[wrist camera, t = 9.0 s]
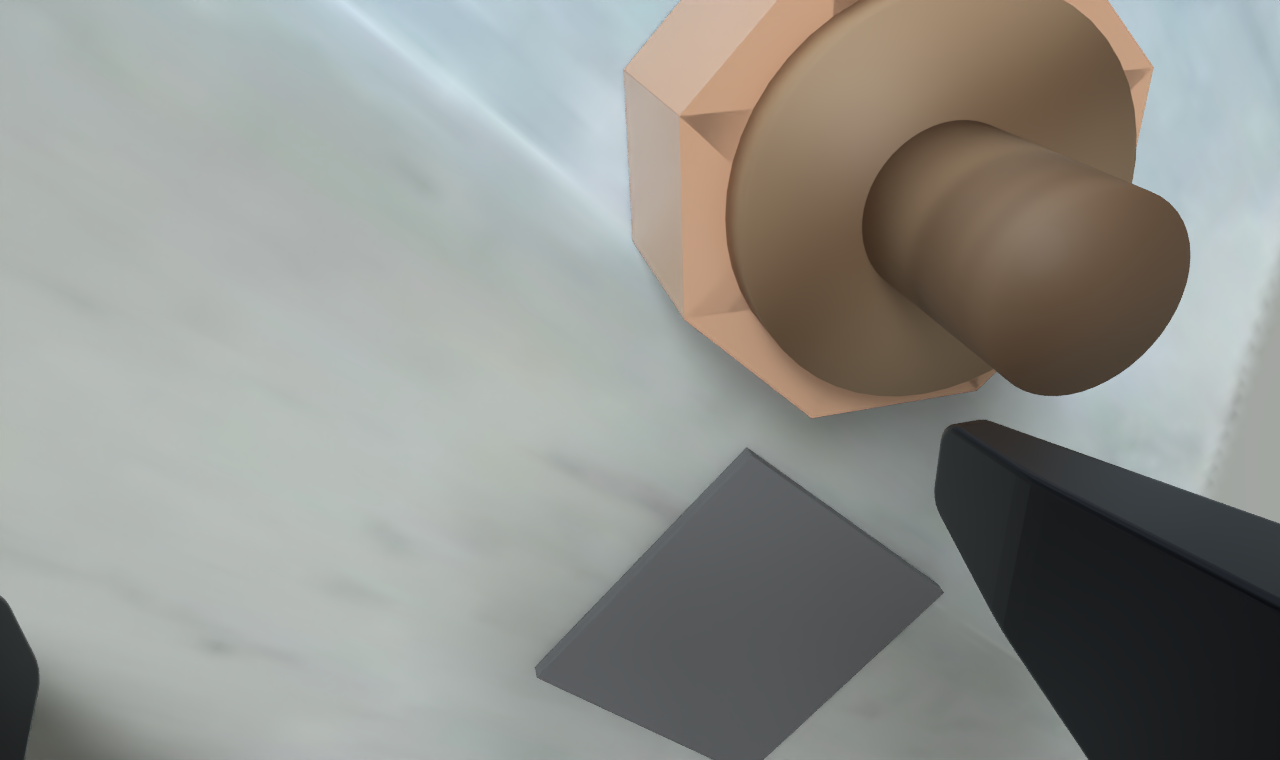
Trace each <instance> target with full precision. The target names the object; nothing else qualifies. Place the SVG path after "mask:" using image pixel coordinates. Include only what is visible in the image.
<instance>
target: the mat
mask: <svg viewBox="0 0 1280 760" xmlns="http://www.w3.org/2000/svg"><path fill="white" fill-rule="evenodd" d="M943 593H944V592H943V591H942V589H941V588H940V587H939V586H938V584H937V583H935V582H934V581H932V580H931V579H930V578H928V577H927V576H925V575H924V574H923V573H921V572H920V571H918V570H917V569H916V568H914V567H913V566H911V565H910V564H909V563H907V562H906V561H904V560H903V559H902V558H900V557H899V556H897V555H896V554H895V553H893V552H892V551H891V550H889V549H888V548H886V547H885V546H884V545H882V544H881V543H879V542H878V541H877V540H875V539H874V538H872V537H871V536H870V535H868V534H867V533H865V532H864V531H863V530H861V529H860V528H858V527H857V526H856V525H854V524H853V523H851V522H850V521H849V520H847V519H846V518H844V517H843V516H842V515H840V514H839V513H837V512H836V511H835V510H833V509H832V508H830V507H829V506H828V505H826V504H825V503H823V502H822V501H821V500H819V499H818V498H816V497H815V496H814V495H812V494H811V493H810V492H808V491H807V490H805V489H804V488H803V487H801V486H800V485H798V484H797V483H796V482H794V481H793V480H791V479H790V478H789V477H787V476H786V475H784V474H783V473H782V472H780V471H779V470H777V469H776V468H775V467H773V466H772V465H770V464H769V463H768V462H766V461H765V460H763V459H762V458H761V457H759V456H758V455H756V454H755V453H754V452H752V451H751V450H749V449H748V448H746V449H745V450H744V451H743V452H742V453H741V454H740V455H739V456H738V457H737V458H736V459H735V460H734V461H733V462H732V463H731V464H730V466H729V467H728V468H727V469H726V470H725V471H724V472H723V473H722V474H721V475H720V476H719V477H718V478H717V479H716V480H715V481H714V482H713V483H712V484H711V485H710V486H709V487H708V488H707V489H706V490H705V491H704V493H703V494H702V495H701V496H700V497H699V498H698V499H697V500H696V501H695V502H694V503H693V504H692V505H691V506H690V507H689V508H688V509H687V510H686V511H685V512H684V513H683V514H682V515H681V516H680V517H679V518H678V520H677V521H676V522H675V523H674V524H673V525H672V526H671V527H670V528H669V529H668V530H667V531H666V532H665V533H664V534H663V535H662V536H661V537H660V538H659V539H658V540H657V541H656V542H655V543H654V544H653V545H652V547H651V548H650V549H649V550H648V551H647V552H646V553H645V554H644V555H643V556H642V557H641V558H640V559H639V560H638V561H637V562H636V563H635V564H634V565H633V566H632V567H631V568H630V569H629V570H628V571H627V573H626V574H625V575H624V576H623V577H622V578H621V579H620V580H619V581H618V582H617V583H616V584H615V585H614V586H613V587H612V588H611V589H610V590H609V591H608V592H607V593H606V594H605V595H604V596H603V597H602V598H601V600H600V601H599V602H598V603H597V604H596V605H595V606H594V607H593V608H592V609H591V610H590V611H589V612H588V613H587V614H586V615H585V616H584V617H583V618H582V619H581V620H580V621H579V622H578V623H577V624H576V625H575V627H574V628H573V629H572V630H571V631H570V632H569V633H568V634H567V635H566V636H565V637H564V638H563V639H562V640H561V641H560V642H559V643H558V644H557V645H556V646H555V647H554V648H553V649H552V650H551V651H550V652H549V654H548V655H547V656H546V657H545V658H544V659H543V660H542V661H541V662H540V663H539V664H538V665H537V666H536V667H535V669H536V675H537V678H539V679H541V680H543V681H545V682H547V683H550V684H552V685H554V686H556V687H558V688H560V689H562V690H565V691H567V692H569V693H571V694H573V695H575V696H578V697H580V698H582V699H584V700H586V701H588V702H590V703H593V704H595V705H597V706H599V707H601V708H603V709H605V710H608V711H610V712H612V713H614V714H616V715H618V716H621V717H623V718H625V719H627V720H629V721H631V722H633V723H636V724H638V725H640V726H642V727H644V728H646V729H648V730H651V731H653V732H655V733H657V734H659V735H661V736H663V737H666V738H668V739H670V740H672V741H674V742H676V743H679V744H681V745H683V746H685V747H687V748H689V749H691V750H694V751H696V752H698V753H700V754H702V755H704V756H706V757H709V758H711V759H713V760H763V759H764V758H766V757H767V756H768V755H769V754H770V753H771V752H772V751H773V750H774V749H775V748H776V747H777V746H779V745H780V744H781V743H782V742H783V741H784V740H785V739H786V738H787V737H788V736H789V735H790V734H792V733H793V732H794V731H795V730H796V729H797V728H798V727H799V726H800V725H801V724H802V723H803V722H804V721H806V720H807V719H808V718H809V717H810V716H811V715H812V714H813V713H814V712H815V711H816V710H817V709H819V708H820V707H821V706H822V705H823V704H824V703H825V702H826V701H827V700H828V699H829V698H830V697H831V696H833V695H834V694H835V693H836V692H837V691H838V690H839V689H840V688H841V687H842V686H843V685H844V684H846V683H847V682H848V681H849V680H850V679H851V678H852V677H853V676H854V675H855V674H856V673H857V672H858V671H860V670H861V669H862V668H863V667H864V666H865V665H866V664H867V663H868V662H869V661H870V660H871V659H873V658H874V657H875V656H876V655H877V654H878V653H879V652H880V651H881V650H882V649H883V648H884V647H885V646H887V645H888V644H889V643H890V642H891V641H892V640H893V639H894V638H895V637H896V636H897V635H898V634H900V633H901V632H902V631H903V630H904V629H905V628H906V627H907V626H908V625H909V624H910V623H911V622H913V621H914V620H915V619H916V618H917V617H918V616H919V615H920V614H921V613H922V612H923V611H924V610H925V609H927V608H928V607H929V606H930V605H931V604H932V603H933V602H934V601H935V600H936V599H937V598H938V597H940V596H941V595H942V594H943Z"/></svg>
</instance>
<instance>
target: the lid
mask: <svg viewBox="0 0 1280 760" xmlns="http://www.w3.org/2000/svg"><path fill="white" fill-rule="evenodd" d="M1136 138H1137V132H1136V121H1135V109H1134V104H1133V100H1132V95H1131V91H1130V87H1129V83H1128V80H1127V78H1126V75H1125V73H1124V70H1123V68H1122V65H1121V62H1120V60H1119V59H1118V57H1117V55H1116V53H1115V52H1114V50H1113V48H1112V47H1111V45H1110V43H1109V42H1108V40H1107V39H1106V37H1105V36H1104V35H1103V34H1102V33H1101V32H1100V30H1099V29H1098V28H1097V27H1096V26H1095V24H1094V23H1093V22H1092V21H1091V20H1090V19H1089V18H1087V17H1086V16H1085V15H1084V14H1082V13H1081V12H1080V11H1079V10H1078V9H1076V8H1075V7H1074V6H1073V5H1071V4H1069V3H1067V2H1066V1H1064V0H859V1H857V2H855V3H854V4H852V5H851V6H849V7H847V8H846V9H844V10H843V11H841V12H840V13H838V14H836V15H835V16H833V17H832V18H831V19H830V20H828V21H827V22H826V23H825V24H823V25H822V26H821V27H820V28H818V29H817V30H816V31H815V32H814V33H812V34H811V35H810V36H809V37H808V38H807V39H806V40H805V41H804V42H803V43H802V44H801V45H800V46H799V47H798V48H797V49H796V50H795V51H794V52H793V53H792V54H791V55H790V56H789V57H788V59H787V60H786V61H785V62H784V64H783V65H782V66H781V68H780V69H779V70H778V72H777V73H776V74H775V76H774V77H773V78H772V79H771V81H770V82H769V84H768V85H767V87H766V89H765V90H764V92H763V94H762V95H761V97H760V99H759V100H758V102H757V104H756V105H755V107H754V109H753V111H752V113H751V115H750V117H749V119H748V122H747V124H746V126H745V128H744V130H743V133H742V135H741V137H740V141H739V144H738V147H737V150H736V153H735V156H734V159H733V163H732V167H731V172H730V177H729V183H728V188H727V197H726V212H725V224H726V238H727V247H728V252H729V257H730V261H731V266H732V270H733V272H734V275H735V278H736V281H737V283H738V286H739V289H740V291H741V293H742V295H743V297H744V299H745V300H746V302H747V304H748V306H749V308H750V310H751V311H752V312H753V314H754V315H755V316H756V318H757V319H758V320H759V321H760V323H761V324H762V325H763V327H764V328H765V329H766V330H767V332H768V333H769V334H770V335H771V336H772V338H773V339H774V340H775V341H776V342H777V344H778V345H779V346H780V347H781V349H782V350H783V351H784V352H785V353H786V354H788V355H789V356H790V357H791V358H792V359H793V360H794V361H795V362H796V363H797V364H798V365H799V366H801V367H802V368H804V369H805V370H807V371H808V372H810V373H811V374H813V375H814V376H815V377H817V378H819V379H821V380H823V381H826V382H828V383H830V384H832V385H834V386H836V387H840V388H843V389H846V390H849V391H853V392H856V393H862V394H869V395H875V396H909V395H918V394H925V393H930V392H934V391H939V390H943V389H947V388H950V387H953V386H956V385H958V384H961V383H964V382H967V381H970V380H972V379H974V378H976V377H978V376H980V375H983V374H985V373H987V372H989V371H991V370H993V369H994V370H996V371H997V372H998V373H999V374H1000V375H1002V376H1003V377H1004V378H1005V379H1007V380H1008V381H1009V382H1010V383H1012V384H1013V385H1014V386H1016V387H1018V388H1020V389H1022V390H1024V391H1027V392H1030V393H1033V394H1038V395H1044V396H1061V395H1069V394H1074V393H1078V392H1082V391H1085V390H1087V389H1090V388H1093V387H1095V386H1098V385H1100V384H1102V383H1104V382H1106V381H1108V380H1110V379H1111V378H1113V377H1115V376H1116V375H1118V374H1119V373H1121V372H1122V371H1124V370H1125V369H1126V368H1128V367H1129V366H1130V365H1132V364H1133V363H1134V362H1135V361H1136V360H1137V359H1139V358H1140V357H1141V356H1142V355H1143V354H1144V353H1145V352H1146V351H1147V350H1148V349H1149V348H1150V347H1151V346H1152V345H1153V343H1154V342H1155V341H1156V340H1157V338H1158V337H1159V336H1160V335H1161V333H1162V332H1163V331H1164V329H1165V328H1166V326H1167V325H1168V323H1169V322H1170V320H1171V318H1172V316H1173V315H1174V313H1175V311H1176V309H1177V307H1178V305H1179V302H1180V300H1181V298H1182V295H1183V292H1184V289H1185V286H1186V283H1187V278H1188V273H1189V267H1190V243H1189V238H1188V233H1187V230H1186V227H1185V225H1184V222H1183V220H1182V219H1181V217H1180V215H1179V214H1178V212H1177V211H1176V210H1175V209H1174V207H1173V206H1172V205H1171V204H1170V203H1169V202H1167V201H1166V200H1165V199H1163V198H1162V197H1161V196H1159V195H1157V194H1155V193H1152V192H1150V191H1148V190H1146V189H1143V188H1141V187H1138V186H1136V185H1134V184H1132V179H1133V173H1134V167H1135V161H1136Z"/></svg>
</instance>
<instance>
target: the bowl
mask: <svg viewBox="0 0 1280 760" xmlns="http://www.w3.org/2000/svg"><path fill="white" fill-rule="evenodd" d="M857 1H859V0H680V2H679V3H678V4H677V5H676V6H675V8H674V9H673V10H672V11H671V13H670V14H669V15H668V16H667V17H666V19H665V20H664V21H663V22H662V24H661V25H660V26H659V27H658V28H657V30H656V31H655V32H654V33H653V35H652V36H651V37H650V38H649V39H648V41H647V42H646V43H645V44H644V45H643V47H642V48H641V49H640V50H639V52H638V53H637V54H636V55H635V56H634V58H633V59H632V60H631V61H630V63H629V64H628V65H627V66H626V67H625V69H624V86H625V105H626V124H627V143H628V163H629V182H630V201H631V220H632V240H633V242H634V244H635V245H636V247H637V249H638V250H639V252H640V253H641V255H642V256H643V258H644V259H645V261H646V262H647V264H648V265H649V267H650V268H651V270H652V271H653V273H654V274H655V276H656V277H657V279H658V280H659V282H660V283H661V285H662V286H663V288H664V289H665V291H666V292H667V294H668V295H669V297H670V299H671V300H672V302H673V303H674V305H675V306H676V308H677V309H678V311H679V312H680V314H681V315H682V317H683V318H684V320H686V321H687V322H688V323H689V324H691V325H692V326H693V327H695V328H696V329H697V330H698V331H700V332H701V333H702V334H704V335H705V336H706V337H707V338H709V339H710V340H711V341H713V342H714V343H715V344H716V345H718V346H719V347H720V348H722V349H723V350H724V351H725V352H727V353H728V354H729V355H731V356H732V357H733V358H734V359H736V360H737V361H738V362H740V363H741V364H742V365H743V366H745V367H746V368H747V369H749V370H750V371H751V372H752V373H754V374H755V375H756V376H758V377H759V378H760V379H762V380H763V381H764V382H765V383H767V384H768V385H769V386H771V387H772V388H773V389H774V390H776V391H777V392H778V393H780V394H781V395H782V396H783V397H785V398H786V399H787V400H789V401H790V402H791V403H792V404H794V405H795V406H796V407H798V408H799V409H800V410H801V411H803V412H804V413H805V414H807V415H808V416H809V417H810V418H816V417H822V416H828V415H834V414H840V413H846V412H852V411H858V410H864V409H870V408H876V407H882V406H888V405H894V404H900V403H906V402H912V401H918V400H924V399H930V398H935V397H941V396H947V395H953V394H959V393H965V392H971V391H977V390H978V389H979V388H980V387H981V386H982V385H983V384H984V383H985V382H986V381H987V380H988V379H989V378H990V377H991V376H992V375H993V374H994V373H995V372H996V370H994V369H993V370H991V371H989V372H987V373H985V374H983V375H980V376H978V377H976V378H974V379H972V380H970V381H967V382H964V383H961V384H958V385H956V386H953V387H950V388H947V389H943V390H939V391H934V392H930V393H925V394H918V395H909V396H875V395H869V394H862V393H856V392H853V391H849V390H846V389H843V388H840V387H836V386H834V385H832V384H830V383H828V382H826V381H823V380H821V379H819V378H817V377H815V376H814V375H813V374H811V373H810V372H808V371H807V370H805V369H804V368H802V367H801V366H799V365H798V364H797V363H796V362H795V361H794V360H793V359H792V358H791V357H790V356H789V355H788V354H786V353H785V352H784V351H783V350H782V349H781V347H780V346H779V345H778V344H777V342H776V341H775V340H774V339H773V338H772V336H771V335H770V334H769V333H768V332H767V330H766V329H765V328H764V327H763V325H762V324H761V323H760V321H759V320H758V319H757V318H756V316H755V315H754V314H753V312H752V311H751V310H750V308H749V306H748V304H747V302H746V300H745V299H744V297H743V295H742V293H741V291H740V289H739V286H738V283H737V281H736V278H735V275H734V272H733V270H732V266H731V261H730V257H729V252H728V247H727V238H726V224H725V212H726V197H727V188H728V183H729V177H730V172H731V167H732V163H733V159H734V156H735V153H736V150H737V147H738V144H739V141H740V137H741V135H742V133H743V130H744V128H745V126H746V124H747V122H748V119H749V117H750V115H751V113H752V111H753V109H754V107H755V105H756V104H757V102H758V100H759V99H760V97H761V95H762V94H763V92H764V90H765V89H766V87H767V85H768V84H769V82H770V81H771V79H772V78H773V77H774V76H775V74H776V73H777V72H778V70H779V69H780V68H781V66H782V65H783V64H784V62H785V61H786V60H787V59H788V57H789V56H790V55H791V54H792V53H793V52H794V51H795V50H796V49H797V48H798V47H799V46H800V45H801V44H802V43H803V42H804V41H805V40H806V39H807V38H808V37H809V36H810V35H811V34H812V33H814V32H815V31H816V30H817V29H818V28H820V27H821V26H822V25H823V24H825V23H826V22H827V21H828V20H830V19H831V18H832V17H833V16H835V15H836V14H838V13H840V12H841V11H843V10H844V9H846V8H847V7H849V6H851V5H852V4H854V3H855V2H857ZM1064 1H1066V2H1067V3H1069V4H1071V5H1073V6H1074V7H1075V8H1076V9H1078V10H1079V11H1080V12H1081V13H1082V14H1084V15H1085V16H1086V17H1087V18H1089V19H1090V20H1091V21H1092V22H1093V23H1094V24H1095V26H1096V27H1097V28H1098V29H1099V30H1100V32H1101V33H1102V34H1103V35H1104V36H1105V37H1106V39H1107V40H1108V42H1109V43H1110V45H1111V47H1112V48H1113V50H1114V52H1115V53H1116V55H1117V57H1118V59H1119V60H1120V62H1121V65H1122V68H1123V70H1124V73H1125V75H1126V78H1127V80H1128V83H1129V87H1130V91H1131V95H1132V100H1133V104H1134V109H1135V121H1136V132H1137V138H1136V146H1137V141H1138V137H1139V132H1140V127H1141V123H1142V118H1143V114H1144V109H1145V104H1146V100H1147V95H1148V91H1149V86H1150V81H1151V77H1152V72H1153V66H1152V64H1151V63H1150V61H1149V60H1148V58H1147V57H1146V56H1145V54H1144V53H1143V51H1142V50H1141V48H1140V47H1139V45H1138V44H1137V42H1136V41H1135V39H1134V38H1133V37H1132V35H1131V34H1130V32H1129V31H1128V29H1127V28H1126V26H1125V25H1124V23H1123V22H1122V20H1121V19H1120V18H1119V16H1118V15H1117V13H1116V12H1115V10H1114V9H1113V7H1112V6H1111V4H1110V3H1109V1H1108V0H1064Z"/></svg>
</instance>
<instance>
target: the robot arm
mask: <svg viewBox="0 0 1280 760" xmlns="http://www.w3.org/2000/svg"><path fill="white" fill-rule="evenodd" d="M934 493H935V501H936V506H937V509H938V511H939V514H940V516H941V518H942V520H943V521H944V523H945V525H946V527H947V529H948V531H949V533H950V535H951V537H952V538H953V540H954V542H955V544H956V546H957V548H958V550H959V552H960V554H961V555H962V557H963V559H964V561H965V563H966V565H967V567H968V569H969V571H970V572H971V574H972V576H973V578H974V580H975V582H976V584H977V586H978V588H979V590H980V591H981V593H982V595H983V597H984V599H985V601H986V603H987V605H988V607H989V608H990V610H991V612H992V614H993V616H994V617H995V619H996V621H997V623H998V624H999V626H1000V628H1001V630H1002V631H1003V633H1004V634H1005V636H1006V637H1007V639H1008V641H1009V642H1010V644H1011V645H1012V647H1013V648H1014V650H1015V651H1016V653H1017V654H1018V656H1019V657H1020V659H1021V660H1022V662H1023V663H1024V665H1025V666H1026V668H1027V669H1028V671H1029V672H1030V674H1031V675H1032V677H1033V678H1034V680H1035V681H1036V683H1037V684H1038V686H1039V687H1040V689H1041V690H1042V691H1043V693H1044V694H1045V696H1046V697H1047V699H1048V700H1049V702H1050V703H1051V705H1052V706H1053V708H1054V709H1055V711H1056V712H1057V714H1058V715H1059V717H1060V718H1061V720H1062V721H1063V723H1064V724H1065V726H1066V727H1067V728H1068V730H1069V731H1070V733H1071V734H1072V736H1073V737H1074V739H1075V740H1076V742H1077V743H1078V745H1079V746H1080V748H1081V749H1082V751H1083V752H1084V754H1085V755H1086V757H1087V758H1088V760H1280V524H1279V523H1277V522H1274V521H1271V520H1268V519H1265V518H1262V517H1260V516H1257V515H1254V514H1251V513H1248V512H1245V511H1242V510H1240V509H1236V508H1234V507H1231V506H1228V505H1226V504H1223V503H1220V502H1217V501H1214V500H1211V499H1209V498H1206V497H1203V496H1200V495H1197V494H1194V493H1192V492H1189V491H1186V490H1183V489H1180V488H1178V487H1175V486H1172V485H1169V484H1166V483H1163V482H1161V481H1158V480H1155V479H1152V478H1149V477H1146V476H1144V475H1141V474H1138V473H1135V472H1132V471H1129V470H1127V469H1124V468H1121V467H1118V466H1115V465H1112V464H1110V463H1107V462H1104V461H1101V460H1098V459H1096V458H1093V457H1090V456H1087V455H1084V454H1081V453H1079V452H1076V451H1073V450H1070V449H1067V448H1064V447H1062V446H1059V445H1056V444H1053V443H1050V442H1047V441H1045V440H1042V439H1039V438H1036V437H1033V436H1030V435H1028V434H1025V433H1022V432H1019V431H1016V430H1014V429H1011V428H1008V427H1005V426H1002V425H999V424H997V423H994V422H991V421H988V420H975V421H970V422H964V423H958V424H953V425H950V426H949V427H947V428H946V429H945V431H944V433H943V434H942V438H941V444H940V451H939V459H938V466H937V473H936V481H935V491H934ZM38 689H39V668H38V664H37V660H36V658H35V655H34V654H33V652H32V650H31V648H30V646H29V644H28V642H27V640H26V638H25V636H24V634H23V632H22V630H21V628H20V626H19V624H18V622H17V620H16V618H15V616H14V614H13V612H12V610H11V608H10V606H9V604H8V603H7V601H6V600H5V599H4V598H3V597H2V596H0V760H25V757H26V752H27V746H28V741H29V736H30V731H31V726H32V720H33V715H34V710H35V705H36V700H37V695H38Z"/></svg>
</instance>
